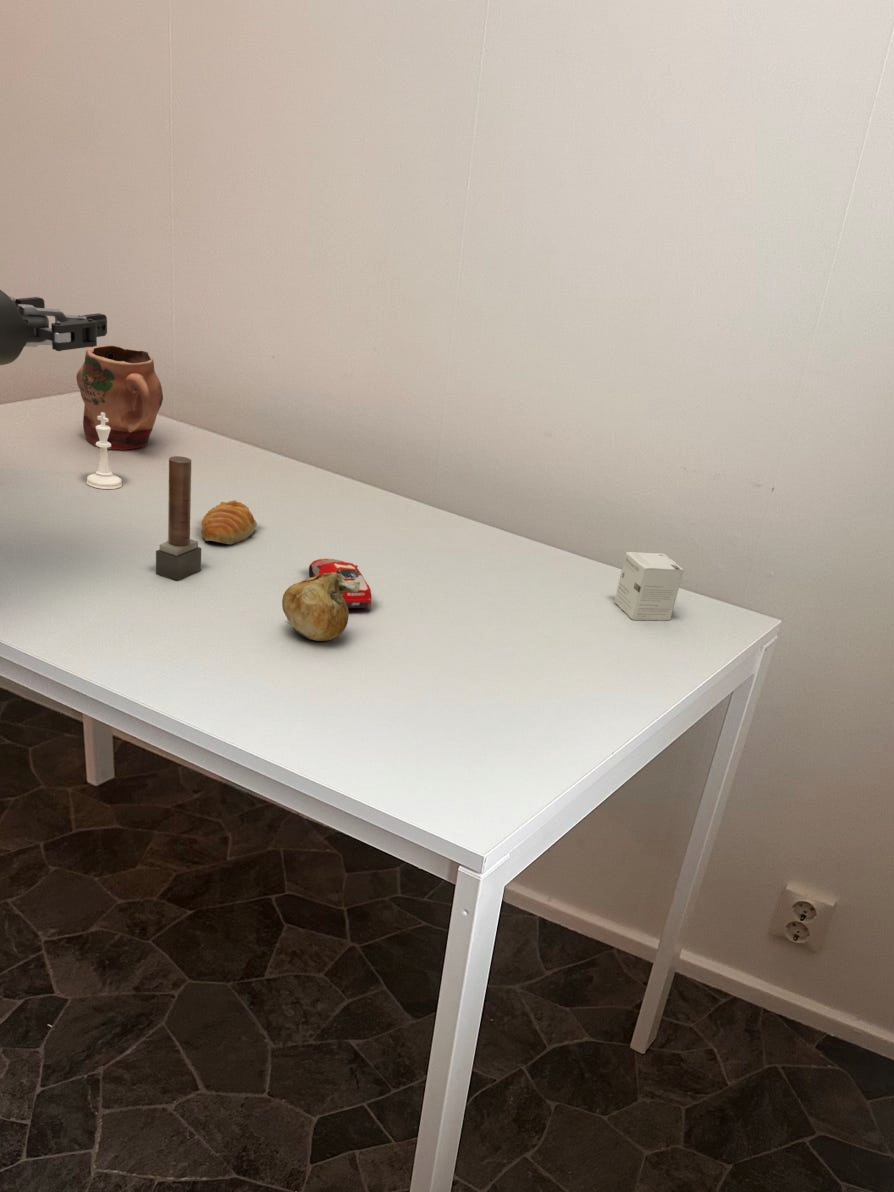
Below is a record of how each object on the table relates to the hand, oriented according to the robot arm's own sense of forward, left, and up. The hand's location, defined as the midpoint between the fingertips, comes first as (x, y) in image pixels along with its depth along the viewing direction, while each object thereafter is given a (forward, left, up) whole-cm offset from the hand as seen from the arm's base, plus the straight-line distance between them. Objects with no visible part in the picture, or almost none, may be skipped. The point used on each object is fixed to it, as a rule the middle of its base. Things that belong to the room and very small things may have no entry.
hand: (72, 315), depth 131 cm
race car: (+23, -23, -28) cm, 43 cm away
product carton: (+57, -46, -28) cm, 78 cm away
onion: (+11, -32, -28) cm, 44 cm away
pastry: (+22, 0, -28) cm, 36 cm away
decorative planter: (+31, +40, -28) cm, 58 cm away
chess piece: (+18, +24, -28) cm, 41 cm away
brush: (+8, -9, -28) cm, 30 cm away
